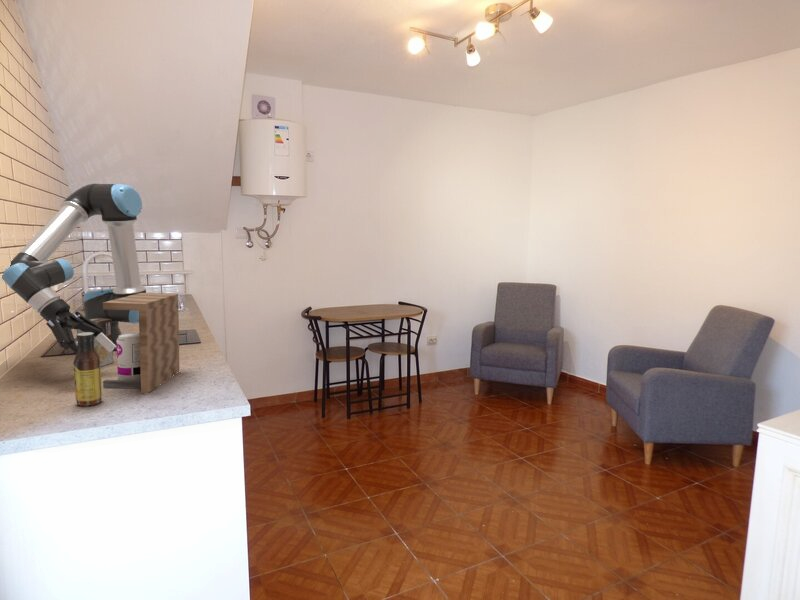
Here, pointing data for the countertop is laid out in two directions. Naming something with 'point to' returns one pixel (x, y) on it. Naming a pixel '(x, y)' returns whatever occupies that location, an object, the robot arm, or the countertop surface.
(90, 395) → the sauce bottle
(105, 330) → the coffee box
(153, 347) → the overhang shelf
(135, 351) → the supplement can
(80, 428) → the countertop surface
